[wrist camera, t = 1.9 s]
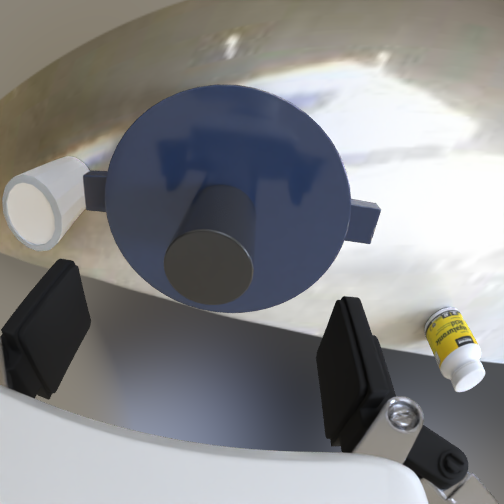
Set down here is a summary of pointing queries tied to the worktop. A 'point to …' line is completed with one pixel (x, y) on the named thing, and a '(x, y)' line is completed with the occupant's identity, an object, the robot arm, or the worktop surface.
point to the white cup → (45, 202)
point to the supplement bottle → (455, 348)
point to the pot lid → (227, 198)
